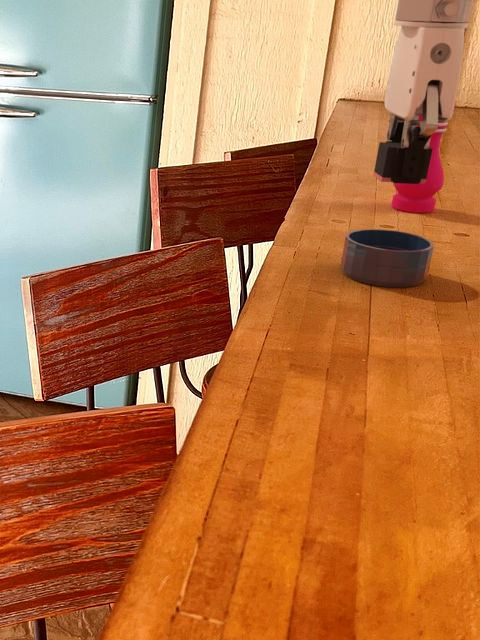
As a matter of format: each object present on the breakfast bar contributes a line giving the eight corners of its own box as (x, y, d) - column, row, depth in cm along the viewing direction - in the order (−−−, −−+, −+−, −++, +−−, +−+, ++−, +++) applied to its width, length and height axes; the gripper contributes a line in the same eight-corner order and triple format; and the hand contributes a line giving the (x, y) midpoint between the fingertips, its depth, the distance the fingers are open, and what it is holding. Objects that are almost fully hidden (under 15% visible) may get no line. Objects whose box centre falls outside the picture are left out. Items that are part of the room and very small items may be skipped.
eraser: (416, 177, 106) (423, 143, 104) (425, 183, 103) (433, 148, 101) (373, 175, 106) (379, 141, 105) (381, 181, 103) (387, 147, 102)
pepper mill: (437, 206, 141) (465, 75, 133) (437, 216, 135) (466, 79, 127) (388, 201, 144) (413, 72, 136) (386, 210, 138) (412, 77, 130)
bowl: (410, 265, 112) (417, 230, 110) (438, 290, 103) (446, 253, 101) (331, 262, 113) (336, 227, 111) (351, 286, 104) (358, 249, 102)
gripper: (499, 16, 89) (458, 196, 97) (442, 10, 104) (410, 166, 112) (422, 14, 90) (387, 193, 97) (376, 8, 105) (348, 164, 112)
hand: (399, 177), depth 104 cm, fingers closed on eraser, 3 cm apart
